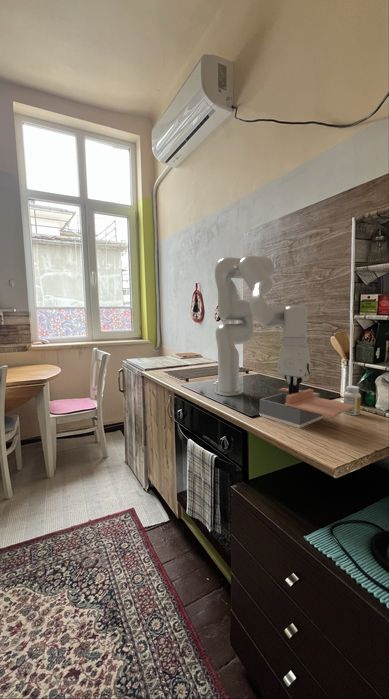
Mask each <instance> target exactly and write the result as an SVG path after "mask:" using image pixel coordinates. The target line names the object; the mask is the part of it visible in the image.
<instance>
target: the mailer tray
mask: <svg viewBox="0 0 389 699" xmlns="http://www.w3.org/2000/svg"><path fill="white" fill-rule="evenodd" d="M287 395H289V394H287V393H280V394H273V395H271V396H270V395H269V396H266V397H262V398H259V409H258V410H259V413H258V414H259V415H260V416H259V415H258V416H259V417H262V418H266V419H269V420H272V421H275V422H277V423H278V422H279V423H282V424H285V425H289V426H291V427H295V428H299V429H301V428H304V427H306V426H308V425H310V424H313V423H315V422H317V421H320V420H323V416H324V415H321V414H318V413H314V412H310V411H306V410H302V409H298V408H294V407H290V406H286V405H285V403H286V396H287Z"/></svg>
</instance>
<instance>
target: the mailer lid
mask: <svg viewBox="0 0 389 699" xmlns="http://www.w3.org/2000/svg"><path fill="white" fill-rule="evenodd" d="M313 392H314V389H312V388H307V389H304V390H302V391H300V392H297V393H294V394H290V395H287V396H286V403H285V405H286V406H290V407H294V408H298V409H302V410H306V411H310V412H314V413H318V414H321V415H323V416H325V417H330V418H334V417H337V416H339V415H342V414H343V413H344V412H346V411H348V410H350V409H353V408H355V405H351V404H347V403H344V402H341V401H337V400H331V399H327V398H324V397H323V398H322V397H319V398H318V397H314V396H313ZM344 414H345V413H344Z"/></svg>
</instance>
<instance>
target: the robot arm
mask: <svg viewBox="0 0 389 699" xmlns="http://www.w3.org/2000/svg"><path fill="white" fill-rule="evenodd" d="M274 271H275V265H274V263H273V261H272V260H271V259H270V258H269V257H267V256H257V255H247V256H245V257H243V258H241V257H229V256H228V257H227V256H226V257H222V258H220V259H219V260H218V261H217V262H216V265H215V268H214V280H215V284H216V288H217V308H218V309H217V310H218V317H219V319H221V320H222V321H229V322H230V321H233V322H234V321H237V322H238V323H223V324H221V325H219V326H218V327H216V330H215V340H216V344H217V370H218V371H217V380H215V382H213V386H215V387H216V388H215V389H214V393H215V394H216V395H218V396H225V397H230V396H231V397H234V396H239V395H242V394H243V389H241V388H240V354H239V351H238V349H237V347H236V345H247V344H249V343H250V342H252V340H253V337H254V319H255V321H256V322H257V323H258V324H259V325H260V326H261V327H264V328H275V327H276V328H277V327H279V328H283V337H281V339H280V342H281V343H282V345H281V346H280V349H279V353H278V359H277V360H278V361H277V373H278V374H279V376H280V377H282V378H284V380H285V381H286V383H287V384H288V388H289V395H290V394H294V393H297V392H299V390H300V384H301V383H302V382H306V381H309V380H310V374H311V355H310V349H309V346H307V345H308V344H307V343H308V308H307V306H306V305H302V304H301V305H299V304H298V305H278V304H277V305H276V304H275V305H271V304H270V305H269V304H267V302H266V301H265V299H264V297H263V296H265V295H266V294H268V293H269V292H270V291H271V289H272V288H273V284H274V283H273V280H272V279H271V277H272V276H273V274H274ZM232 279H243V280H244V281H245V283H246V285H247V286H248V288H249V289H250V290H249V291H251V294H250V295H249V296H250V297H249V301H248V300H247V299H242V298H241V299H238V290H237V287H236V284H235V282H234V281H233V280H232Z"/></svg>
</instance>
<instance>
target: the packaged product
mask: <svg viewBox="0 0 389 699" xmlns="http://www.w3.org/2000/svg"><path fill="white" fill-rule="evenodd" d="M300 391H303V390H301V389H299V392H300ZM280 393H287V394H289V387H281V388H279V389H278V390H277V394H280ZM313 396H314V397H318V398H321V397H320V396H321V393H319V392H314V391H313Z"/></svg>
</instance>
